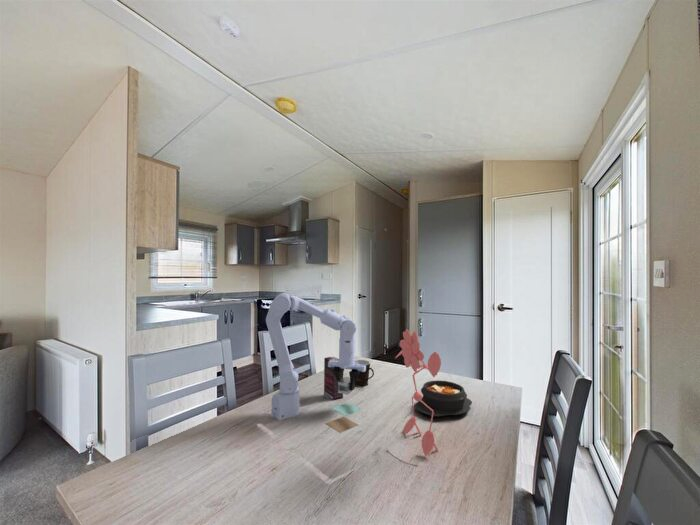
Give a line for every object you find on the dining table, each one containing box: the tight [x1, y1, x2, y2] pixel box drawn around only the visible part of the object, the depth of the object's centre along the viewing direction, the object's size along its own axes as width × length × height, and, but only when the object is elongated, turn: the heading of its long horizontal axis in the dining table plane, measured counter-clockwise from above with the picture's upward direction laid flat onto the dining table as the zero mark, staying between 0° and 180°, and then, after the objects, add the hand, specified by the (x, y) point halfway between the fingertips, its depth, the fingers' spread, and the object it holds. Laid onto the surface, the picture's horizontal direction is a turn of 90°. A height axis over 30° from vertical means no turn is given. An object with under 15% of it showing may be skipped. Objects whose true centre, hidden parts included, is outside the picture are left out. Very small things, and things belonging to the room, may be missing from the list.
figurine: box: [387, 328, 442, 467], centre depth 97 cm, size 15×26×35 cm, turn 19°
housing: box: [338, 376, 355, 396], centre depth 119 cm, size 6×4×4 cm, turn 157°
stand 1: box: [331, 402, 362, 417], centre depth 120 cm, size 8×8×1 cm
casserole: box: [413, 380, 473, 417], centre depth 123 cm, size 25×19×8 cm
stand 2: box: [325, 416, 359, 434], centre depth 108 cm, size 8×8×1 cm
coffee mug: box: [354, 359, 375, 388], centre depth 147 cm, size 12×9×10 cm
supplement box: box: [323, 356, 344, 401], centre depth 133 cm, size 9×5×16 cm, turn 31°
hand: (346, 388), depth 119 cm, fingers closed on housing, 4 cm apart
